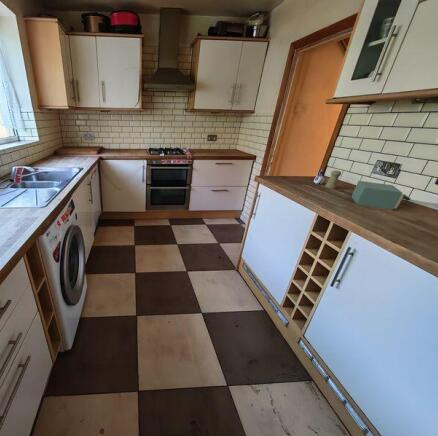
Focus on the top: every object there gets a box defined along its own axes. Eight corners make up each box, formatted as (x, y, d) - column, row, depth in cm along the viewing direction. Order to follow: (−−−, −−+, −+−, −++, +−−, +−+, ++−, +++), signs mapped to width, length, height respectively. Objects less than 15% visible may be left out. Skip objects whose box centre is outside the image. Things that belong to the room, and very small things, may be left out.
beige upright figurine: (337, 189, 147) (344, 172, 142) (326, 187, 149) (332, 171, 144) (334, 186, 152) (341, 170, 147) (324, 185, 154) (330, 169, 149)
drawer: (398, 202, 124) (406, 188, 121) (407, 210, 114) (416, 196, 110) (357, 196, 132) (363, 183, 129) (362, 203, 122) (369, 189, 118)
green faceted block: (384, 201, 128) (392, 185, 123) (392, 210, 116) (402, 192, 112) (351, 196, 134) (358, 180, 130) (356, 204, 123) (364, 187, 119)
